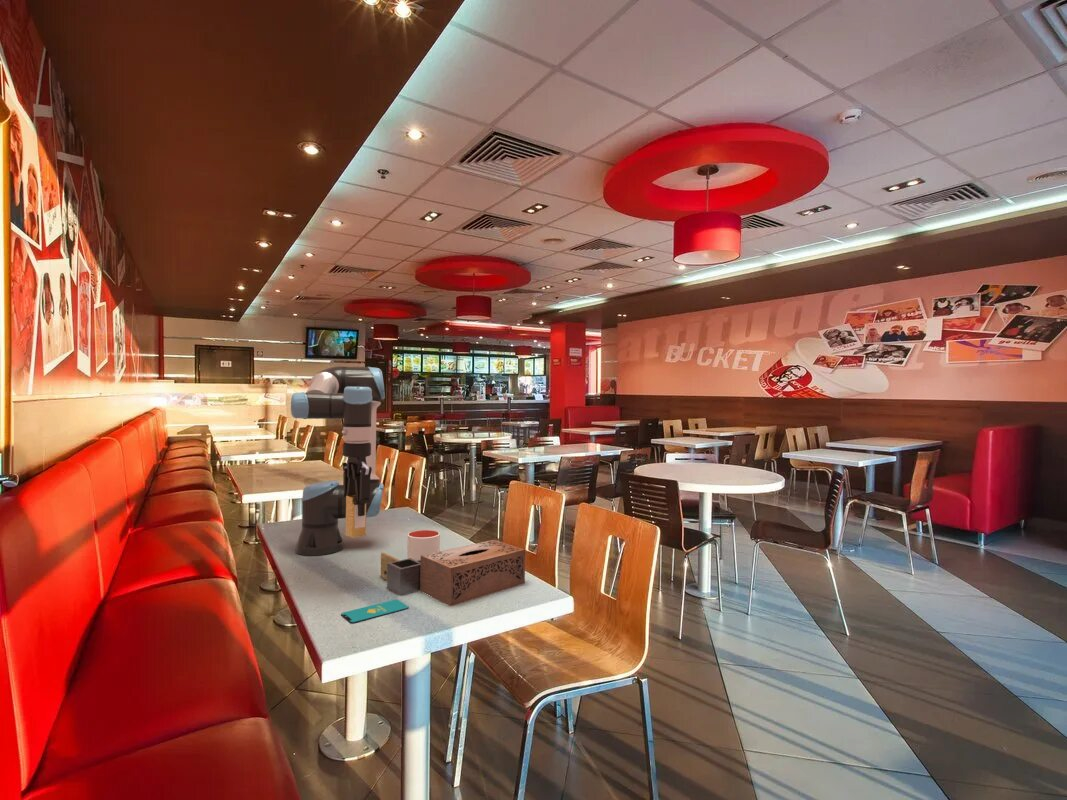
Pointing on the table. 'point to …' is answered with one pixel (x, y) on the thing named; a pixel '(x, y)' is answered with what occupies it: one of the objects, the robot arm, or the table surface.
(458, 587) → the tissue box cover
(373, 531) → the table surface
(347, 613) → the smartphone
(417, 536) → the cup
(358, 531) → the pin
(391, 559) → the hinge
